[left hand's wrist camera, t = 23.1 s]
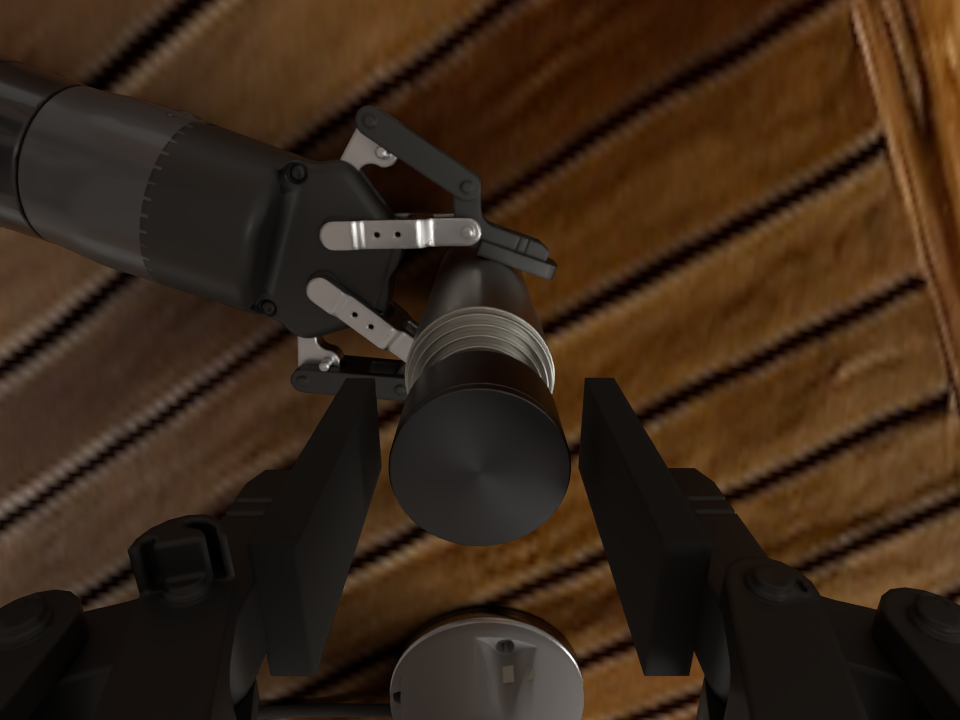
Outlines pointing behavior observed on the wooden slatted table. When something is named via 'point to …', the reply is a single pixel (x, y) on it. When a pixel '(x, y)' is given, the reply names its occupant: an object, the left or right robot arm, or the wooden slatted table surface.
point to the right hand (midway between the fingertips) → (530, 321)
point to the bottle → (478, 316)
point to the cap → (479, 450)
